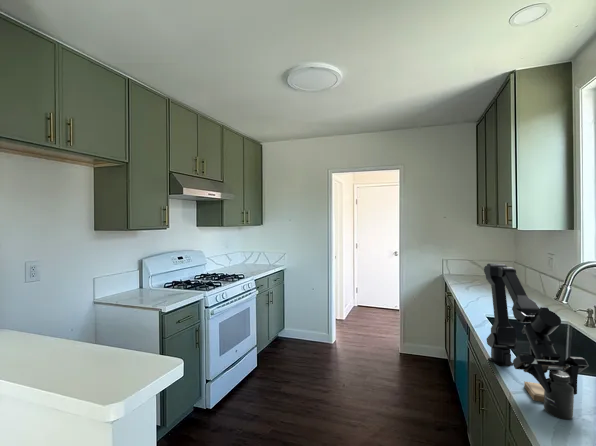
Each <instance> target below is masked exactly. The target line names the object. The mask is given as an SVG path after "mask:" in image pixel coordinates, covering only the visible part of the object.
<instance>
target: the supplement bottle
mask: <svg viewBox="0 0 596 446" xmlns="http://www.w3.org/2000/svg"><path fill="white" fill-rule="evenodd" d="M548 370H549V371H548V372H549V373H548V378H547V377H546V379H547V382H548V385H549V389H550V392H549V393H547V392H546V391H545V389H544V402H543V409H544V411H545V412H546V413H548V414H549V415H551V416H553V417H555V418H557V419H562V420H571V419H572V418H573V417H574V406H575V405H574V403H575V401H574V400H575V395H574V388H573V386H572V385H571V384H570V375H569V374H568V373H566V372H564V371H563V370H560V369H554V368H553V369H548Z"/></svg>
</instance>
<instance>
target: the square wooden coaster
mask: <svg viewBox="0 0 596 446" xmlns="http://www.w3.org/2000/svg"><path fill="white" fill-rule="evenodd" d="M523 387H524V389H525V390H526V391H527V392H528V394H529V396H530V397H531V399H532V400H533V402H542V403H544V388H543V387H542V386H541V385H540V383H539V382H531V381H524V385H523Z"/></svg>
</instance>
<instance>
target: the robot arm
mask: <svg viewBox="0 0 596 446" xmlns="http://www.w3.org/2000/svg"><path fill="white" fill-rule="evenodd" d="M483 272H484V275H485V278H486V280H487V282H488V283H489V284H490V287H491V297H492V306H493V308H492V309H493V316H494V317H493V319H494V321H493V324H492V326H491V327H490V334H489V335H488V336H487V338H486V344H487V345H488V346H489V347H490V350H491V352H490V357H487V360H488V361H490V362H492V363H494V364H496V365H497V366H499V367H500V366H501V367H502V366H503V367H504V366H513V368H514V369H515V370H519V371H520V370H523V372H524V373H528V374H530V375H531V376H532V377H533V378H534V379H535V380H536V381H537V383H539V384H540V385H541V386H542V387H543V388H544V389H545V391H546V392H547V393H549V392H550V389H549V385H548V382H547V377H546V373H548V372H549V371H548V370H549V368H550V367H551V368H553V367H554V368H555V367H556V368H561V369H562V371H564V372H566V373H568V374H569V375H570V384H571V385H572V386H573V388H574V396H576V395H577V394H578V375H579V374H580V373H581V372H583V371H585V370H586V369H588V368H589V367H590V365H589V364H588V361H587V360H586V359H585V358H583V357H581V356H569V357H567V358H566V359H564V360H561V359H560V358H561V355H560V353H557V352H556V350H555V348H554V345H555V342H554V340H551V339H550V337H549V335H551V334H553V332H554V331H555V330H556V329H558V327H559V326H560V325H561V324H562V319H561V317H560V316H559V315H558V314H557V313H556V312H554V311H552V310H550V309H549V307H548V306H547V307H546V306H541V307H539V305H538V304H537V303H536V302H535V301H533V300H532V299H531V298H530V297H529V296H528V294H527V293H526V290H525V289H524V287H523V285H522V283H521V281H520V279H519V277H518V275H517V270H516V268H515V267H512V266H508V265H506V264H505V263H489V262H488V263H487V264H486V265H485V266H484V267H483ZM506 290H507V291H506ZM507 293H508V294H509V296H510V299H511V301H512V303H513V305H512V307H511V311H512V315H513V318H514V319H515V320H516V321H517V322H519V323H525V325H523V328H522V329H521V334H525V335H526V338H527V340H528V343H529V347H528V350H529V353H527V354H526V353H525V354H524V353H519V354H518V355H517V356H516V357H515V358H514V359H512V354H511V351H512V350H516V346H517V342H518V337H517V332H516V331H517V330H516V328H515V327H513V326H512V325H511V323H510V321H509V312H508V310H509V309H508V301H507ZM526 323H527V324H526Z"/></svg>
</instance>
